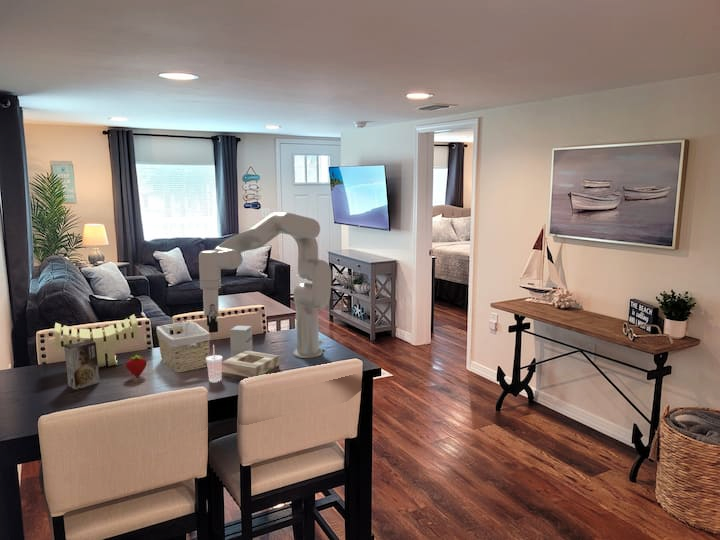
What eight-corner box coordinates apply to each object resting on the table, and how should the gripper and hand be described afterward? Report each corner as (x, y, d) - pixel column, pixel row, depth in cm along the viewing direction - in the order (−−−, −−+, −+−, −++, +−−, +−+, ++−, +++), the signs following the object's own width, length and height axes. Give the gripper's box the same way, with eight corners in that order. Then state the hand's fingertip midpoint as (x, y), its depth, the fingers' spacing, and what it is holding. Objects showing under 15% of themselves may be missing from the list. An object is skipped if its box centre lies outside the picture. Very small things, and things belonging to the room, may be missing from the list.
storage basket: (213, 367, 217) (211, 332, 214) (172, 375, 208) (170, 339, 205) (194, 352, 236) (192, 320, 234) (157, 359, 227) (154, 325, 225)
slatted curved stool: (58, 375, 208) (54, 331, 205) (59, 363, 222) (55, 322, 219) (140, 363, 222) (137, 322, 219) (136, 352, 236) (134, 313, 233)
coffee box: (92, 378, 204) (88, 338, 202) (100, 382, 200) (96, 341, 198) (67, 385, 197) (63, 344, 195) (75, 390, 193) (70, 347, 191)
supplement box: (246, 358, 227) (245, 330, 225) (230, 357, 228) (229, 329, 226) (253, 353, 234) (252, 325, 232) (237, 352, 236) (236, 324, 233)
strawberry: (125, 376, 207) (123, 351, 205) (145, 372, 211) (144, 348, 209) (128, 381, 202) (126, 356, 200) (149, 377, 206) (147, 352, 204)
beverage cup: (225, 377, 206) (223, 342, 203) (221, 383, 200) (219, 347, 197) (209, 377, 205) (207, 342, 203) (205, 383, 199) (203, 347, 197)
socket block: (247, 363, 222) (246, 350, 221) (279, 368, 215) (278, 355, 214) (221, 375, 207) (221, 362, 206) (255, 381, 201) (254, 368, 200)
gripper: (198, 280, 203) (200, 324, 206) (201, 288, 187) (203, 335, 190) (218, 279, 206) (220, 322, 208) (223, 287, 190) (225, 333, 192)
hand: (212, 328), depth 199 cm, fingers open, 9 cm apart
